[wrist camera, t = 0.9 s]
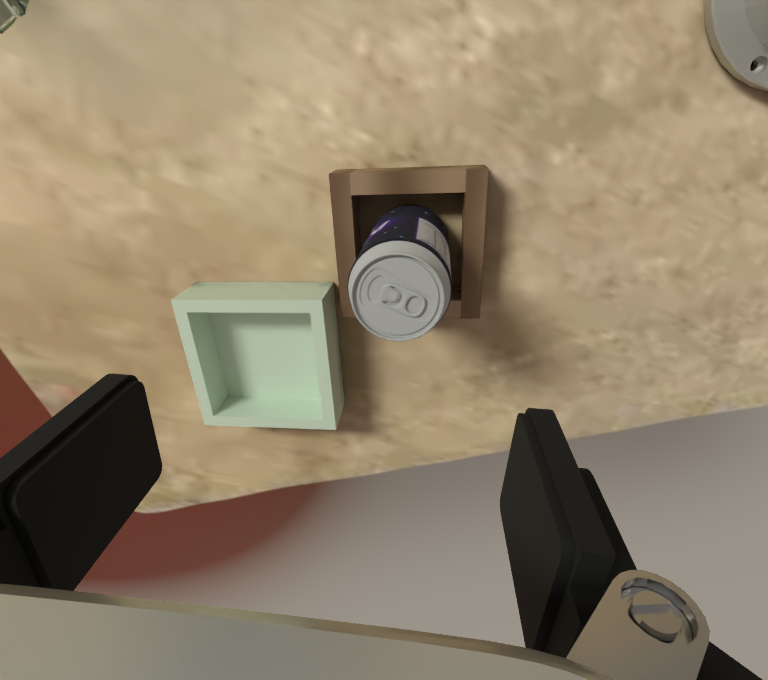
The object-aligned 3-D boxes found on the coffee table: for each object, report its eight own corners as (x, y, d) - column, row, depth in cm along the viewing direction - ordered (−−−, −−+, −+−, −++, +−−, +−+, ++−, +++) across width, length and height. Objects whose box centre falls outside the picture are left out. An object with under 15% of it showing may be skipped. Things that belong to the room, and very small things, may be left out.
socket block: (484, 164, 31) (488, 168, 29) (477, 305, 35) (479, 318, 33) (336, 169, 32) (328, 174, 30) (347, 305, 37) (341, 317, 34)
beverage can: (389, 189, 32) (364, 226, 22) (461, 220, 33) (472, 271, 22) (362, 260, 35) (328, 324, 24) (429, 288, 35) (425, 363, 25)
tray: (333, 281, 36) (321, 300, 32) (345, 402, 41) (336, 429, 37) (196, 282, 37) (170, 300, 34) (224, 399, 42) (204, 425, 39)
